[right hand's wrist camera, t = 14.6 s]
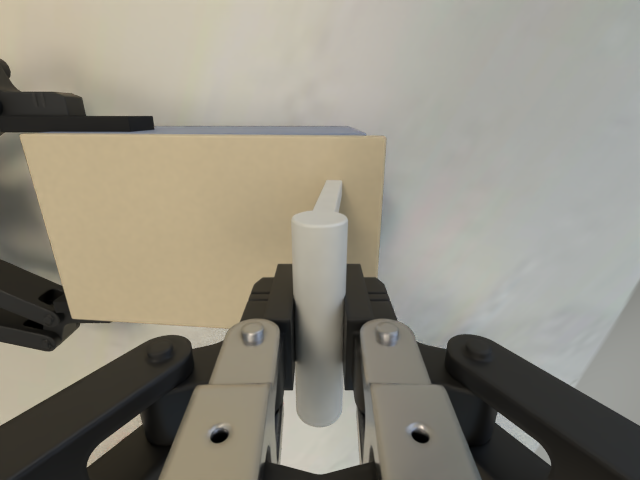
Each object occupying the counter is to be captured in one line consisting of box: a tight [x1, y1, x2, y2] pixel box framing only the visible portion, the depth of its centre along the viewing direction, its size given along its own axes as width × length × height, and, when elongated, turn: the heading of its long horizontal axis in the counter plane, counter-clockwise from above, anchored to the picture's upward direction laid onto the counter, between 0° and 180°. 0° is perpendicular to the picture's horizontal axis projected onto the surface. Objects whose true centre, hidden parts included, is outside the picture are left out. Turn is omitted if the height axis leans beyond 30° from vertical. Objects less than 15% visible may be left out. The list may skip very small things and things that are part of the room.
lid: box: [20, 133, 387, 427], centre depth 14 cm, size 16×10×8 cm, turn 90°
